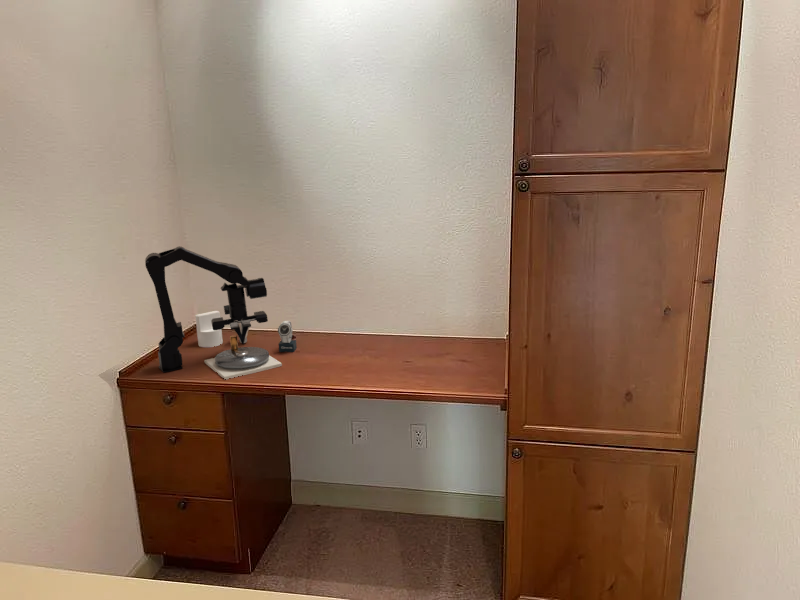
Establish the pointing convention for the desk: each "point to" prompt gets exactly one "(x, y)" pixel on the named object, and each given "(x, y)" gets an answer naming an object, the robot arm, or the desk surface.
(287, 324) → the watch
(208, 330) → the base with upright slab
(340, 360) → the desk surface
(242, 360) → the handwheel
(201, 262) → the robot arm
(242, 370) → the wheel base
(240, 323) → the light bulb
